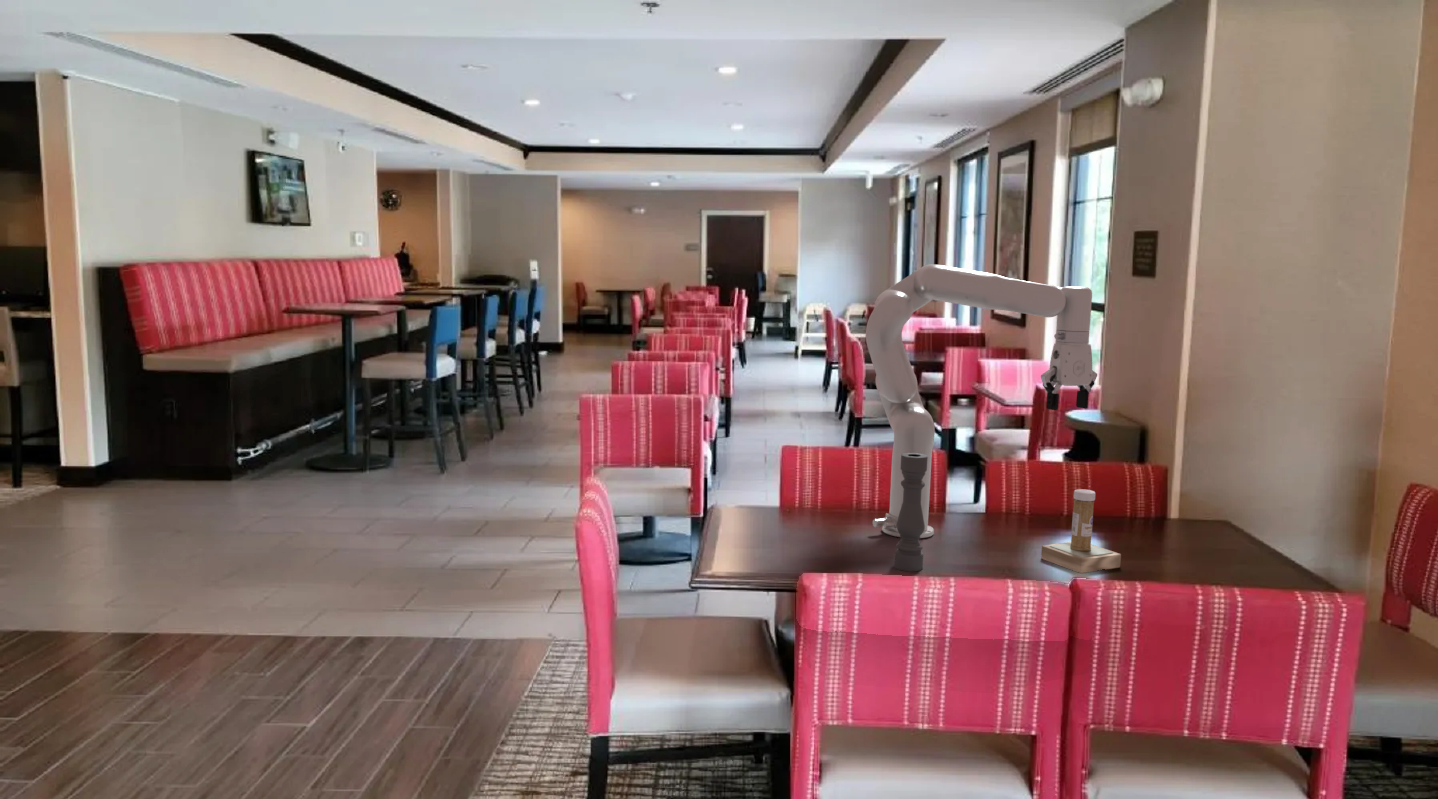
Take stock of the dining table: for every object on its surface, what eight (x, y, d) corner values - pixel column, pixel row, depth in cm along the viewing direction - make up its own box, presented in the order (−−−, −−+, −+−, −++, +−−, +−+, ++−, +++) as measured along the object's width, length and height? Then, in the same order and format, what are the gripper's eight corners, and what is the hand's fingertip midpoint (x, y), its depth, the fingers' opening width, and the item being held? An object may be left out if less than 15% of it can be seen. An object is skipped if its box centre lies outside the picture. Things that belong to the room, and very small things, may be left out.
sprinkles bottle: (1090, 552, 232) (1095, 493, 230) (1069, 550, 233) (1073, 491, 231) (1091, 547, 236) (1095, 489, 234) (1070, 545, 237) (1074, 487, 236)
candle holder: (891, 563, 231) (896, 452, 227) (918, 563, 231) (924, 452, 228) (898, 571, 225) (904, 457, 221) (926, 571, 225) (932, 458, 222)
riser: (1080, 573, 227) (1081, 559, 226) (1040, 558, 237) (1041, 544, 237) (1120, 567, 232) (1121, 553, 232) (1079, 553, 243) (1080, 539, 242)
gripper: (1056, 339, 242) (1051, 412, 244) (1110, 339, 250) (1104, 409, 252) (1033, 337, 248) (1028, 407, 251) (1086, 336, 256) (1081, 405, 258)
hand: (1067, 408), depth 251 cm, fingers open, 9 cm apart
